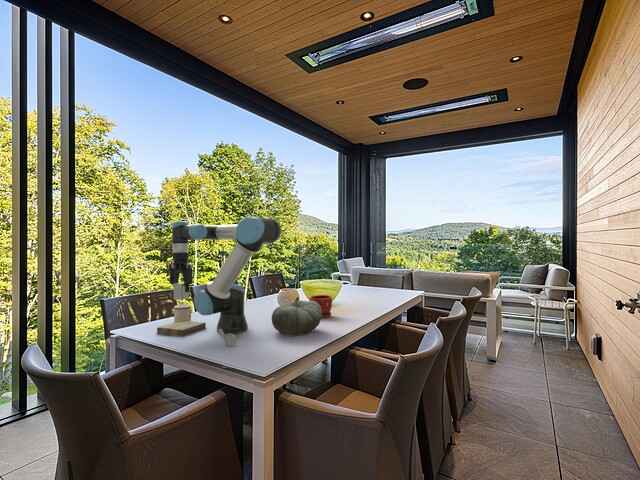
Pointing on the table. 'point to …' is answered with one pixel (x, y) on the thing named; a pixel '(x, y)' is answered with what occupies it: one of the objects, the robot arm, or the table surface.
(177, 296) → the sage pillar block
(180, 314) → the teacup with lid
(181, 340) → the table surface
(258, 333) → the table surface
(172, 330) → the walnut base
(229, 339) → the lighter
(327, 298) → the plant pot
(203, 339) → the table surface
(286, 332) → the gourd
